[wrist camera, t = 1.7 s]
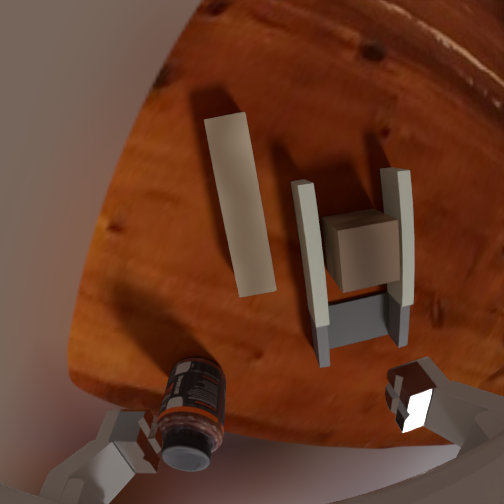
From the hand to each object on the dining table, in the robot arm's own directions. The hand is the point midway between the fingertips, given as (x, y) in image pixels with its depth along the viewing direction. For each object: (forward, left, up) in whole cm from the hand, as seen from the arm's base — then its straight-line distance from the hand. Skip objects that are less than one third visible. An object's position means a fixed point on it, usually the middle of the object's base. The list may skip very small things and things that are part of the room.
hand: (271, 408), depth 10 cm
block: (-9, +1, -19) cm, 21 cm away
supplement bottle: (+8, +13, -19) cm, 25 cm away
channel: (-9, +1, -19) cm, 21 cm away
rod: (0, -4, -19) cm, 20 cm away
